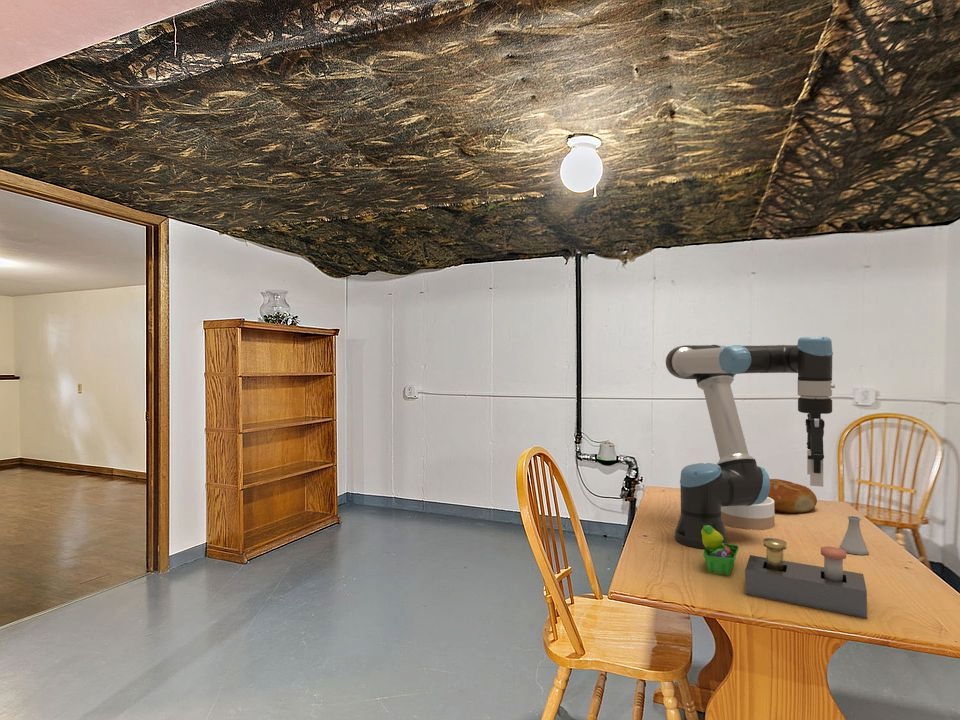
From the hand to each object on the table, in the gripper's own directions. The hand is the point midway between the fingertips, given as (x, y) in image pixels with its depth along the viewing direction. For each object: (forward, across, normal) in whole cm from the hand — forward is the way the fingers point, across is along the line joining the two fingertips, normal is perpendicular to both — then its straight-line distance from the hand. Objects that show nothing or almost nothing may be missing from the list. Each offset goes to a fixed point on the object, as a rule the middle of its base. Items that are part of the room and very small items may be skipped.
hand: (814, 480), depth 140 cm
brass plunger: (+21, -12, +9) cm, 26 cm away
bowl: (+26, +45, +18) cm, 55 cm away
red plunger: (+21, -13, -3) cm, 25 cm away
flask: (+26, +28, -11) cm, 40 cm away
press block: (+26, -13, +3) cm, 29 cm away
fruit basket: (+26, -3, +22) cm, 34 cm away
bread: (+26, +70, +7) cm, 76 cm away
